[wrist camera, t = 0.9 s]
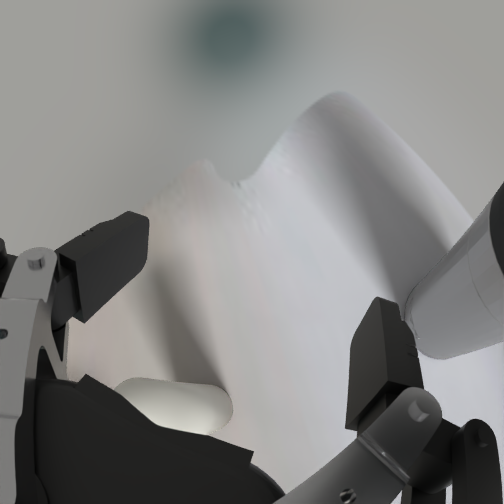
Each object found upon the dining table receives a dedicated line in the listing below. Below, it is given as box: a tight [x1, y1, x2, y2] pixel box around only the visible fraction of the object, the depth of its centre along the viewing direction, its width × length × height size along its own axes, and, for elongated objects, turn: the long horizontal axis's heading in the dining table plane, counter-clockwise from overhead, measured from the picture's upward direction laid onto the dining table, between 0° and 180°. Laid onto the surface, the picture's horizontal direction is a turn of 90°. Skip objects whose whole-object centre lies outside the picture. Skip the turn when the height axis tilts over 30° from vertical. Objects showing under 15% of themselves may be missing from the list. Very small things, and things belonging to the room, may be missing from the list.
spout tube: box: [114, 378, 233, 435], centre depth 21 cm, size 5×5×14 cm
